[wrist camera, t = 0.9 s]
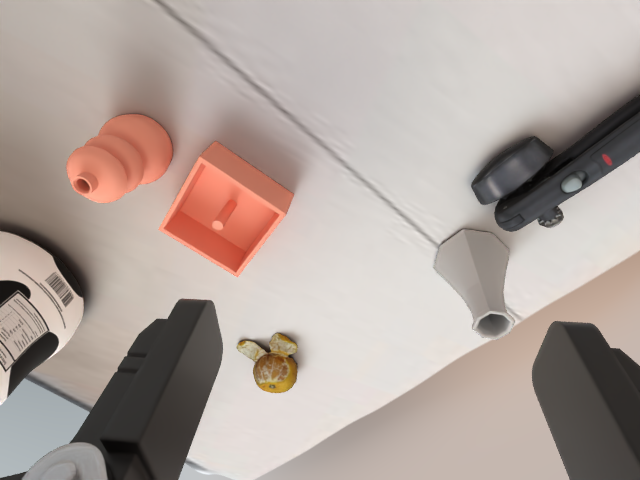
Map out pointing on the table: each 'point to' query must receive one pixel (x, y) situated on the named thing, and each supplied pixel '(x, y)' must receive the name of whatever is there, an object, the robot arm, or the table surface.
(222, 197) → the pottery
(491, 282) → the flask
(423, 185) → the table surface
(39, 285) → the milk container
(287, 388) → the fruit
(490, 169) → the can opener
